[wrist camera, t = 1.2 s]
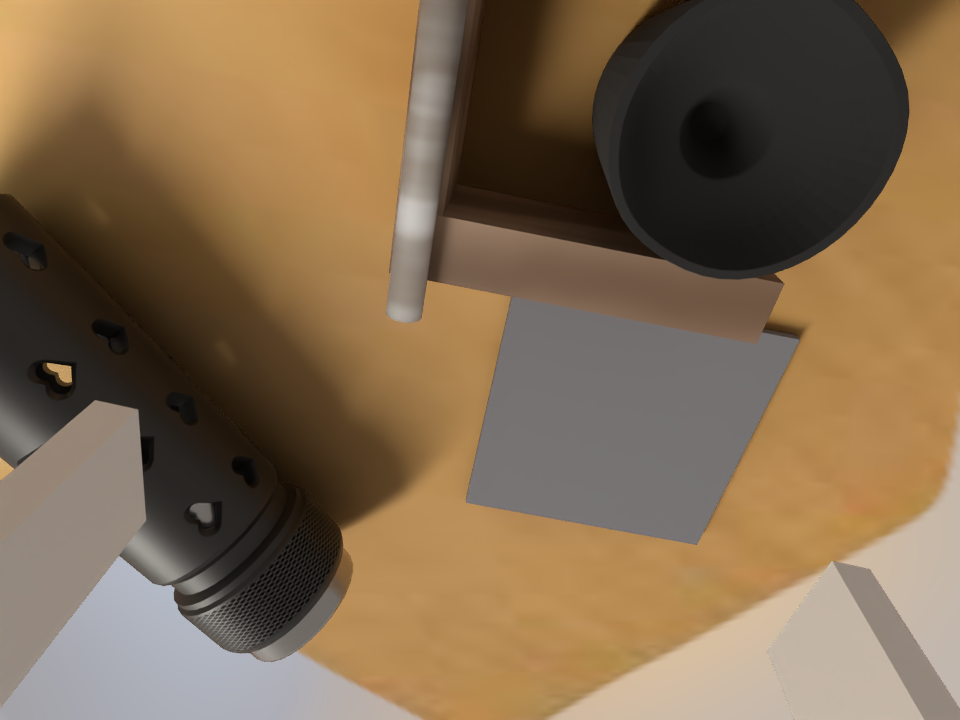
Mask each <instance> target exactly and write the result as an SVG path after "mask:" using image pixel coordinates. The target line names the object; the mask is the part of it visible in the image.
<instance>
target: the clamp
mask: <svg viewBox="0 0 960 720" xmlns="http://www.w3.org/2000/svg"><path fill="white" fill-rule="evenodd" d="M485 5H486V0H420V2H419V11H418V20H417V29H416V38H415V47H414V56H413V64H412V73H411V82H410V91H409V100H408V109H407V118H406V127H405V135H404V144H403V153H402V162H401V171H400V180H399V189H398V198H397V206H396V215H395V224H394V233H393V242H392V251H391V260H390V269H389V273H390V282H389V291H388V299H387V308H386V314H387V316H388V317H390V318H391V319H393V320H396V321H399V322H406V323H411V322H416V321H419V320H420V319H421V318H422V312H423V305H424V298H425V291H426V284H427V280H429V281H434V282H440V283H445V284H450V285H455V286H460V287H465V288H470V289H476V290H481V291H486V292H491V293H496V294H501V295H506V296H512V297H517V298H522V299H527V300H532V301H537V302H542V303H548V304H553V305H558V306H563V307H568V308H573V309H578V310H584V311H589V312H594V313H599V314H604V315H609V316H614V317H620V318H625V319H630V320H635V321H640V322H645V323H650V324H656V325H661V326H666V327H671V328H676V329H681V330H686V331H692V332H697V333H702V334H707V335H712V336H717V337H722V338H728V339H733V340H738V341H743V342H748V343H753V344H757V342H758V340H759V338H760V335H761V333H762V331H763V329H764V327H765V325H766V322H767V320H768V318H769V316H770V314H771V312H772V310H773V307H774V305H775V303H776V301H777V299H778V297H779V294H780V292H781V290H782V288H783V286H784V283H783V282H782V281H781V280H780V279H779V278H778V277H777V276H776V275H775V274H769V275H765V276H761V277H757V278H749V279H739V280H732V279H716V278H711V277H705V276H701V275H698V274H695V273H693V272H690V271H687V270H684V269H682V268H680V267H678V266H676V265H674V264H672V263H670V262H668V261H667V260H665V259H664V258H662V257H661V256H659V255H658V254H656V253H655V252H653V251H652V250H651V249H650V248H648V247H647V246H646V245H645V244H643V243H642V242H641V241H640V240H639V239H638V238H637V237H636V236H635V235H634V234H633V233H632V232H631V230H630V229H629V227H628V226H627V225H626V223H625V222H624V221H623V219H622V217H618V216H613V215H608V214H603V213H598V212H593V211H588V210H583V209H578V208H573V207H568V206H563V205H558V204H553V203H548V202H543V201H538V200H533V199H528V198H523V197H518V196H513V195H508V194H503V193H498V192H493V191H488V190H483V189H478V188H473V187H468V186H463V185H458V184H457V180H458V174H459V168H460V162H461V155H462V149H463V143H464V137H465V130H466V124H467V118H468V111H469V105H470V99H471V93H472V86H473V80H474V74H475V68H476V61H477V55H478V49H479V43H480V36H481V30H482V24H483V18H484V11H485Z"/></svg>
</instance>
